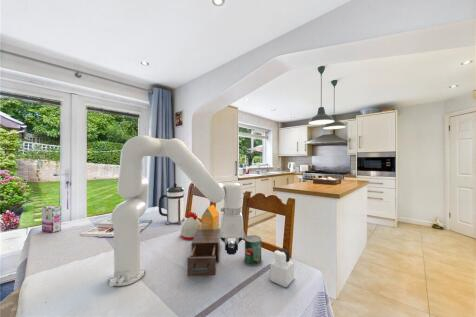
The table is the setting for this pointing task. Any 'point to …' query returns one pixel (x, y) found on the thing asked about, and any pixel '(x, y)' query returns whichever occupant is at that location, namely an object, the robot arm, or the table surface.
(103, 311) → the table surface
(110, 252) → the table surface
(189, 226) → the kitchen timer
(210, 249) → the drawer
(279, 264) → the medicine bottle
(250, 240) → the canned tomato
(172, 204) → the coffee press
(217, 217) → the orange juice
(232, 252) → the black and silver block
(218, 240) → the cabinet
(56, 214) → the candy bar box
